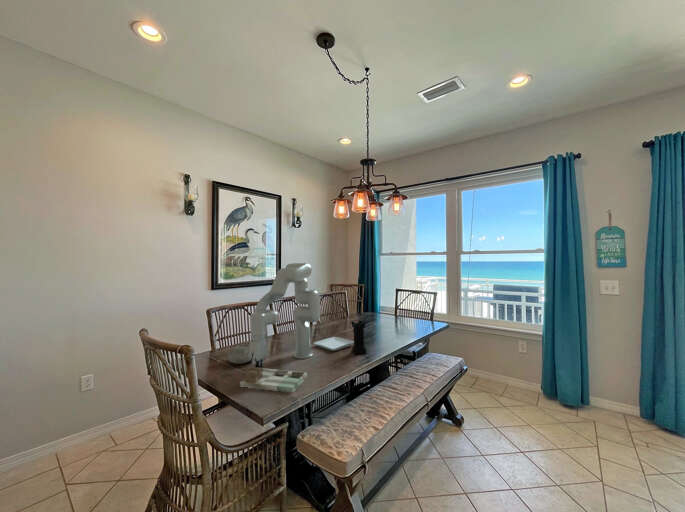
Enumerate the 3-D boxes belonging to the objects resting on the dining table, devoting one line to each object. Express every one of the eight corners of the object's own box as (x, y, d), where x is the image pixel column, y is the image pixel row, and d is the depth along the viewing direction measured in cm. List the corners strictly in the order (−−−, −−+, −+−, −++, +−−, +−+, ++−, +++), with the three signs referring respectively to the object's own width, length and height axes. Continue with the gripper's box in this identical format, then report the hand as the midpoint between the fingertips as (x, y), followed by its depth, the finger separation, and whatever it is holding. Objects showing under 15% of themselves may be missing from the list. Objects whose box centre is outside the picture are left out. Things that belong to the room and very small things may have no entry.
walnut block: (251, 376, 145) (251, 366, 145) (262, 377, 143) (262, 367, 143) (244, 381, 139) (244, 371, 139) (255, 382, 137) (255, 372, 137)
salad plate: (312, 347, 199) (312, 342, 199) (335, 340, 214) (334, 335, 214) (333, 354, 184) (333, 348, 184) (355, 346, 199) (355, 341, 199)
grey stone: (245, 354, 186) (245, 339, 186) (265, 359, 176) (264, 343, 177) (221, 364, 170) (221, 347, 170) (241, 369, 161) (241, 351, 161)
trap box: (259, 372, 156) (259, 367, 156) (307, 376, 149) (307, 372, 149) (240, 387, 138) (239, 382, 139) (292, 393, 131) (292, 387, 131)
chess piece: (367, 353, 182) (366, 322, 182) (356, 355, 179) (355, 324, 179) (362, 350, 189) (361, 320, 189) (351, 351, 186) (350, 321, 186)
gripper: (259, 332, 154) (260, 366, 154) (243, 340, 140) (244, 377, 140) (272, 333, 152) (273, 367, 152) (256, 341, 138) (257, 379, 138)
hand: (259, 372), depth 146 cm, fingers closed
